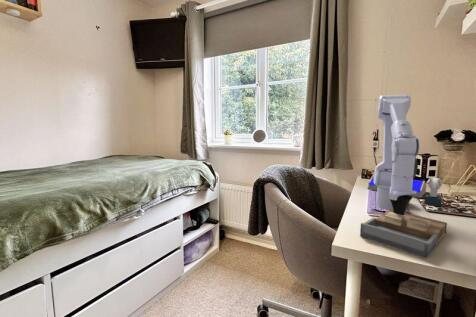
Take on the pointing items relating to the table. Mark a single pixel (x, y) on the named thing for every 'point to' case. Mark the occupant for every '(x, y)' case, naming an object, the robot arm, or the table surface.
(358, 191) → the table surface
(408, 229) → the walnut board
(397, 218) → the tile
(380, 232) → the slate bin
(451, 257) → the table surface
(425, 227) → the tile
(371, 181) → the roof
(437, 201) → the grey and teal figurine
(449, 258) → the table surface
